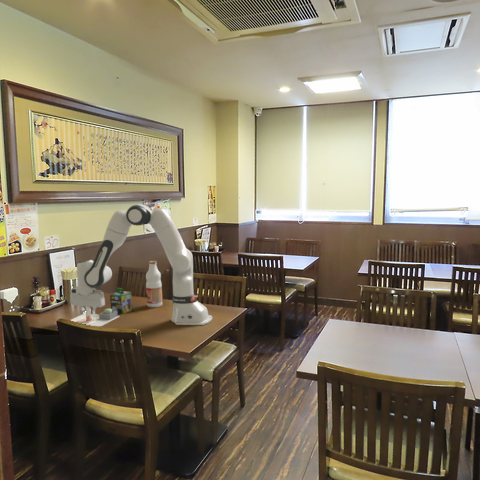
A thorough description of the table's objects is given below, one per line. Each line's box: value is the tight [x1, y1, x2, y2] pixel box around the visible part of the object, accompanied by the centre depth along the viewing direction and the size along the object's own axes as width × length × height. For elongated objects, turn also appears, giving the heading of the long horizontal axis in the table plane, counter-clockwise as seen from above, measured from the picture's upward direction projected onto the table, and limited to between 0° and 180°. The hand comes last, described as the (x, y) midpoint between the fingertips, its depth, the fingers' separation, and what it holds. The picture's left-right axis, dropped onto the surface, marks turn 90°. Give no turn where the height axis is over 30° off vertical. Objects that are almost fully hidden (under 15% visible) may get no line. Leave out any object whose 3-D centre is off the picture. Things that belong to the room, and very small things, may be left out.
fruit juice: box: [145, 260, 163, 308], centre depth 241 cm, size 9×9×28 cm
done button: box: [104, 307, 112, 314], centre depth 218 cm, size 4×4×3 cm
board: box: [70, 310, 121, 327], centre depth 216 cm, size 24×18×4 cm
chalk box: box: [109, 287, 134, 315], centre depth 230 cm, size 9×9×15 cm
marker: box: [85, 306, 92, 321], centre depth 213 cm, size 3×3×10 cm
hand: (88, 313), depth 214 cm, fingers open, 5 cm apart
